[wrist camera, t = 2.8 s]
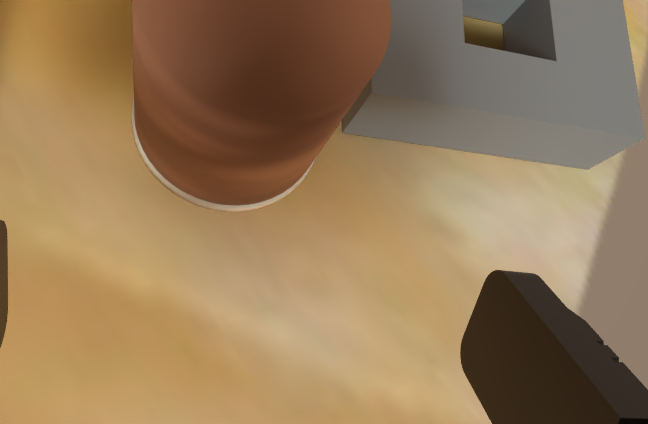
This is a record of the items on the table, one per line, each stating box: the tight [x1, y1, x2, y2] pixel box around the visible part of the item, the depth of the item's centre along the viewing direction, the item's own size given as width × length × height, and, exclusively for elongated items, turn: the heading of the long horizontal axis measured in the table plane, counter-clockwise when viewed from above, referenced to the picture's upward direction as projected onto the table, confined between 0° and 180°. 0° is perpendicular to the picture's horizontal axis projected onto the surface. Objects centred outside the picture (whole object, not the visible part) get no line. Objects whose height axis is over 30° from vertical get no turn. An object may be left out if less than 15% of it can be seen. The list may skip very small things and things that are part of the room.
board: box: [342, 0, 645, 169], centre depth 27 cm, size 12×10×4 cm
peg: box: [132, 0, 391, 212], centre depth 18 cm, size 6×6×10 cm
